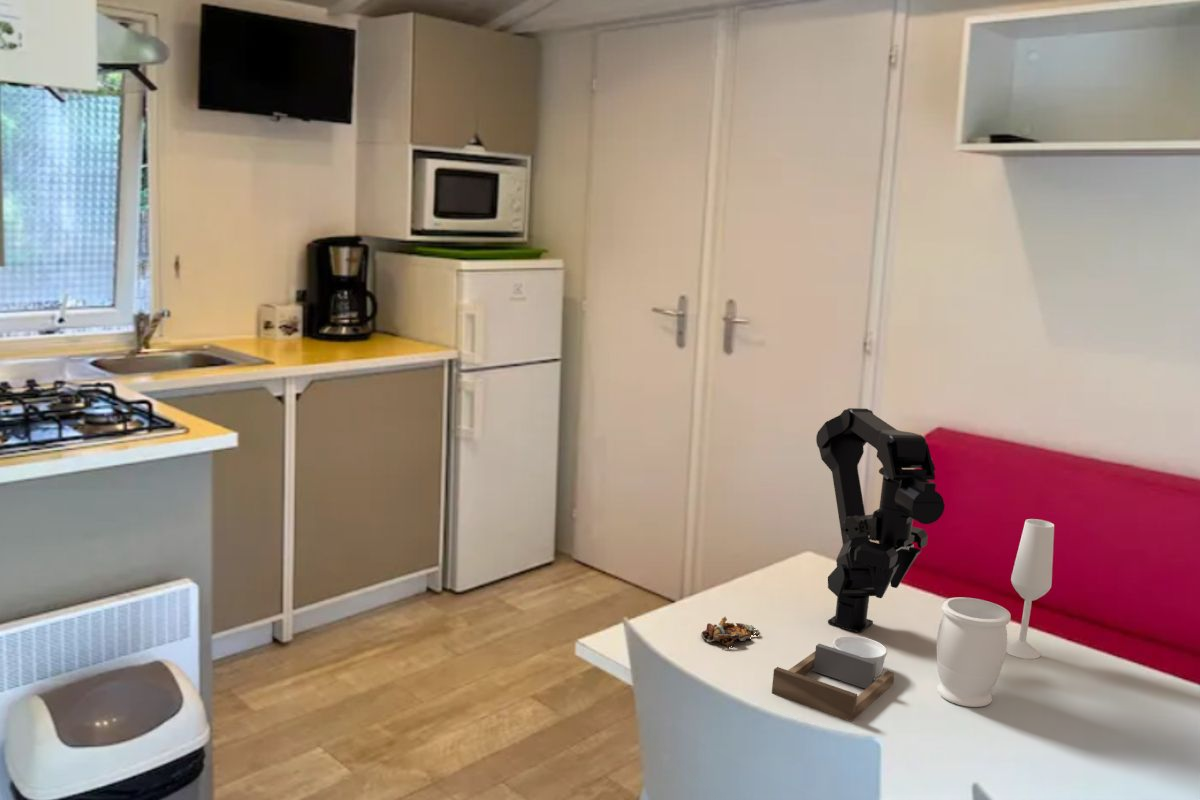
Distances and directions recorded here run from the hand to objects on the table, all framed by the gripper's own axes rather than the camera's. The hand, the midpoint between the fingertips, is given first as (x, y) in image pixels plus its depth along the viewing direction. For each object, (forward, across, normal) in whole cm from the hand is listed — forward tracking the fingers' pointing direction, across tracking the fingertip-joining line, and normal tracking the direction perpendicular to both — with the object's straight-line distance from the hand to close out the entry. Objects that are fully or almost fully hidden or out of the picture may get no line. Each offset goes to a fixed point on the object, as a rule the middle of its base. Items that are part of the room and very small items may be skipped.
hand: (886, 592), depth 182 cm
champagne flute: (+11, -19, +19) cm, 29 cm away
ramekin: (+11, +10, 0) cm, 15 cm away
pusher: (+11, +16, 0) cm, 19 cm away
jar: (+11, +7, +17) cm, 22 cm away
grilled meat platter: (+12, +13, -22) cm, 28 cm away
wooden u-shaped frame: (+11, +19, 0) cm, 22 cm away
